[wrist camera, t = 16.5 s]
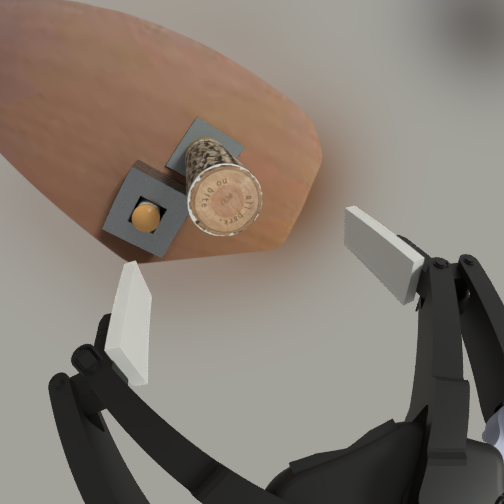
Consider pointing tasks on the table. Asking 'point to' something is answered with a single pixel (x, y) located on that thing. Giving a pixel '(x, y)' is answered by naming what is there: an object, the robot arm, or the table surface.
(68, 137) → the table surface
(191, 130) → the mat
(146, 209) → the plunger
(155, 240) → the block
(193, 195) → the paper tube
